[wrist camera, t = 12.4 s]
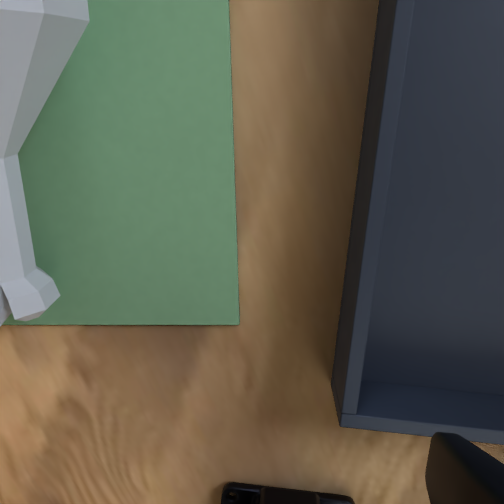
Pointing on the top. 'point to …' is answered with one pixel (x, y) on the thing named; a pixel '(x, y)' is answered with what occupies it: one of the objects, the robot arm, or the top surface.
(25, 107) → the chicken leg
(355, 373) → the roasting tin
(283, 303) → the top surface
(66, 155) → the napkin
